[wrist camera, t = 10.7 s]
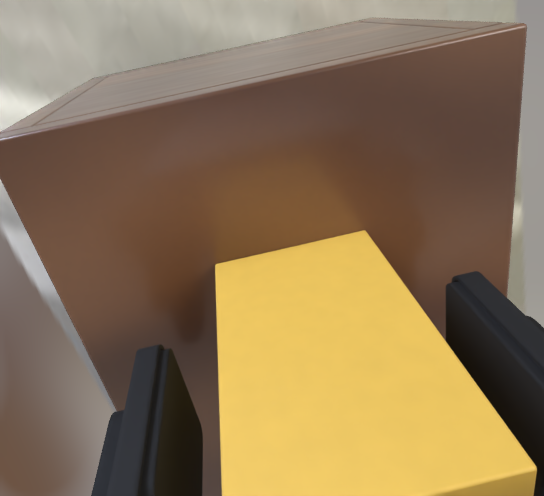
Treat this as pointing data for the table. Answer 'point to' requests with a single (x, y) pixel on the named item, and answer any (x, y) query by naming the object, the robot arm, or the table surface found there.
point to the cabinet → (268, 179)
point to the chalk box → (348, 385)
